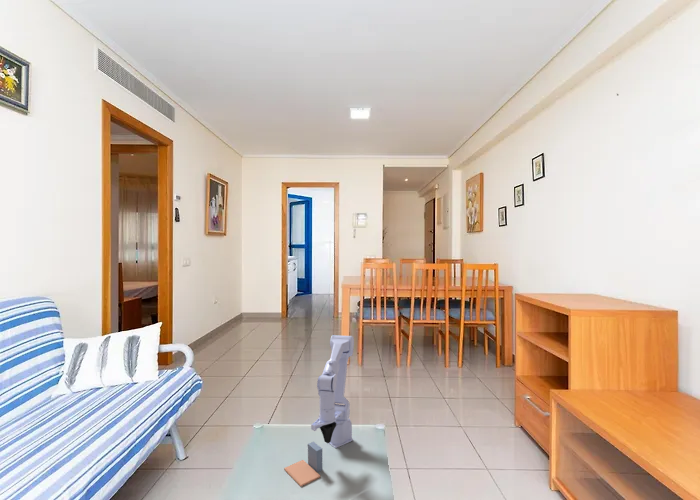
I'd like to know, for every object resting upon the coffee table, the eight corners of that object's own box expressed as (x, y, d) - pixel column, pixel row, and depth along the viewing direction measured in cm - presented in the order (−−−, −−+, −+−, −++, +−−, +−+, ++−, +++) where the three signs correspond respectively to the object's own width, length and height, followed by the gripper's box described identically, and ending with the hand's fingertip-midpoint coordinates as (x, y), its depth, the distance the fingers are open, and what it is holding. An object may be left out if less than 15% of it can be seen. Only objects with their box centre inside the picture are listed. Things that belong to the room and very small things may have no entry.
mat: (302, 461, 138) (302, 459, 138) (320, 477, 128) (320, 475, 128) (284, 469, 133) (284, 468, 133) (300, 486, 124) (300, 485, 124)
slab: (313, 462, 137) (313, 441, 137) (322, 469, 133) (322, 448, 132) (308, 464, 136) (307, 443, 136) (316, 472, 131) (316, 451, 131)
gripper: (333, 397, 145) (333, 430, 146) (305, 409, 135) (306, 445, 135) (346, 402, 140) (346, 437, 141) (318, 416, 130) (318, 453, 130)
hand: (327, 441), depth 138 cm, fingers closed
